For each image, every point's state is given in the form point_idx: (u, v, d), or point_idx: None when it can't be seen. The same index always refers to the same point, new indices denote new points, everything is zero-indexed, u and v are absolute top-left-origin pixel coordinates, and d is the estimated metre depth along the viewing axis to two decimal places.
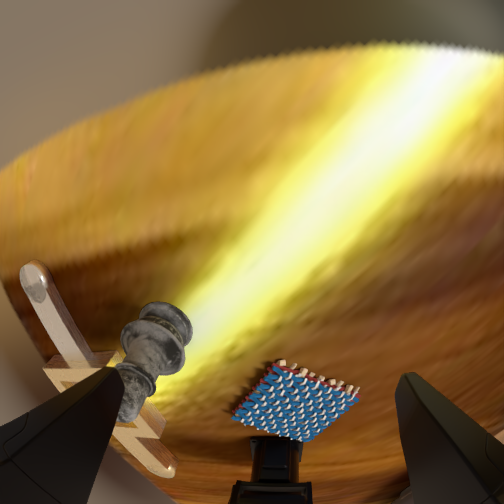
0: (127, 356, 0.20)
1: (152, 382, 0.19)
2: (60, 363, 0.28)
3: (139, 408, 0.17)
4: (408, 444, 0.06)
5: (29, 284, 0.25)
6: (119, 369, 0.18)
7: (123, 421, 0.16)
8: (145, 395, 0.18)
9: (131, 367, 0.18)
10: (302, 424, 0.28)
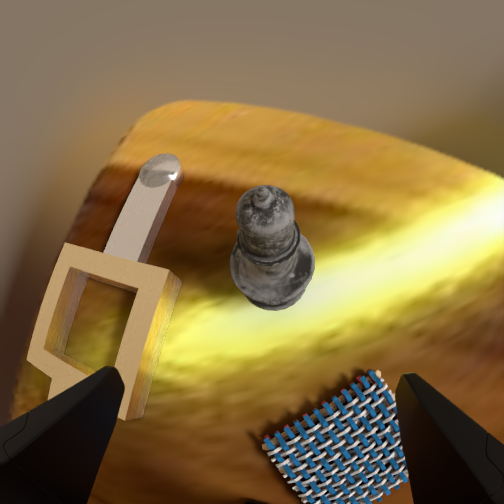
0: None
1: (297, 243, 0.16)
2: None
3: (288, 229, 0.14)
4: (408, 444, 0.06)
5: (154, 168, 0.28)
6: None
7: (266, 215, 0.13)
8: (289, 239, 0.15)
9: None
10: (348, 488, 0.15)
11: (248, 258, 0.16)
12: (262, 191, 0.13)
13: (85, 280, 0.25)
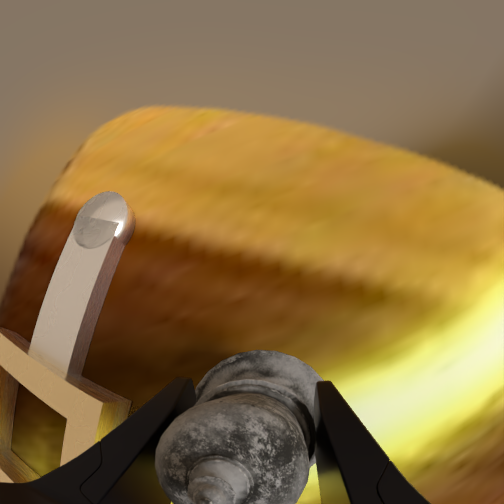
0: None
1: (308, 458, 0.06)
2: (19, 342, 0.14)
3: None
4: (317, 456, 0.06)
5: (93, 216, 0.18)
6: (246, 391, 0.07)
7: None
8: None
9: (290, 399, 0.07)
10: None
11: None
12: None
13: None
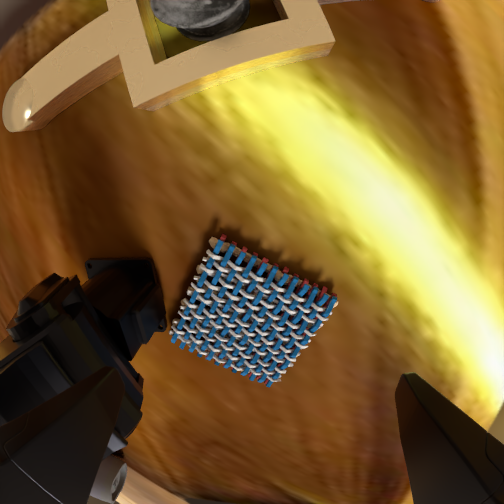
0: None
1: None
2: None
3: None
4: (408, 444, 0.06)
5: None
6: None
7: None
8: None
9: None
10: (214, 334, 0.22)
11: None
12: None
13: None
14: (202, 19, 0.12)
